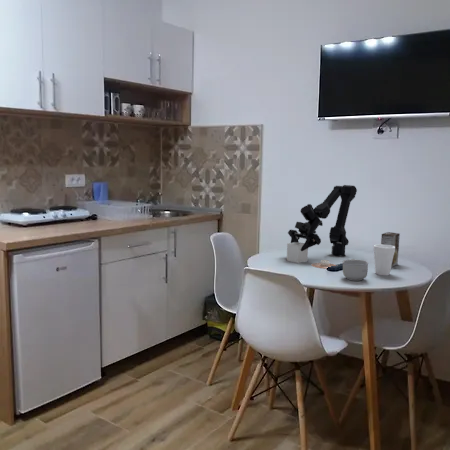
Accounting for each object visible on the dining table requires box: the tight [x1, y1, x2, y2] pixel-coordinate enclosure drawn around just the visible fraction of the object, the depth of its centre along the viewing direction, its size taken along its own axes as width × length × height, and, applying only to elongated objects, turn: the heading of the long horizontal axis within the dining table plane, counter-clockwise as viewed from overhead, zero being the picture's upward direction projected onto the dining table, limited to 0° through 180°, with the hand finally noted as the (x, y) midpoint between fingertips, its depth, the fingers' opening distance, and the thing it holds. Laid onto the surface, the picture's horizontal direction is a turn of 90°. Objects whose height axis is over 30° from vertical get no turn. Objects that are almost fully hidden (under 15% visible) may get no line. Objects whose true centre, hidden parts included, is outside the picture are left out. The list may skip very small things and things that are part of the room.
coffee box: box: [380, 231, 401, 268], centre depth 233 cm, size 9×6×16 cm
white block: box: [286, 241, 309, 264], centre depth 234 cm, size 7×7×9 cm
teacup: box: [342, 258, 369, 282], centre depth 204 cm, size 14×11×8 cm
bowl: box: [320, 259, 330, 267], centre depth 225 cm, size 4×4×2 cm
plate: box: [310, 262, 337, 270], centre depth 225 cm, size 13×13×1 cm
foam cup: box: [373, 243, 395, 276], centre depth 213 cm, size 10×9×13 cm
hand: (295, 249), depth 233 cm, fingers closed on white block, 7 cm apart
